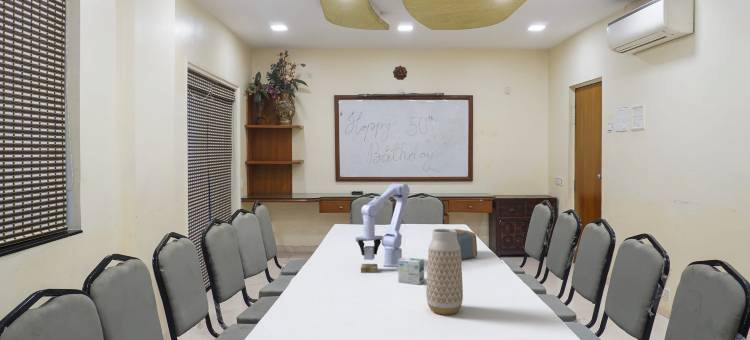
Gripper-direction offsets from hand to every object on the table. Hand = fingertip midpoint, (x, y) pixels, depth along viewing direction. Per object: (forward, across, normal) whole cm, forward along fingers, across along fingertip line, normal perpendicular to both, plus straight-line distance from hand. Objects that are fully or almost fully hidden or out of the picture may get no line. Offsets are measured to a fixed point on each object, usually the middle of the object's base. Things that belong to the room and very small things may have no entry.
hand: (369, 254), depth 233 cm
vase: (+8, -12, +65) cm, 66 cm away
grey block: (+2, 0, 0) cm, 2 cm away
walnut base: (+9, 0, 0) cm, 9 cm away
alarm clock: (+9, -57, -14) cm, 60 cm away
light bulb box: (+8, -13, +25) cm, 30 cm away
